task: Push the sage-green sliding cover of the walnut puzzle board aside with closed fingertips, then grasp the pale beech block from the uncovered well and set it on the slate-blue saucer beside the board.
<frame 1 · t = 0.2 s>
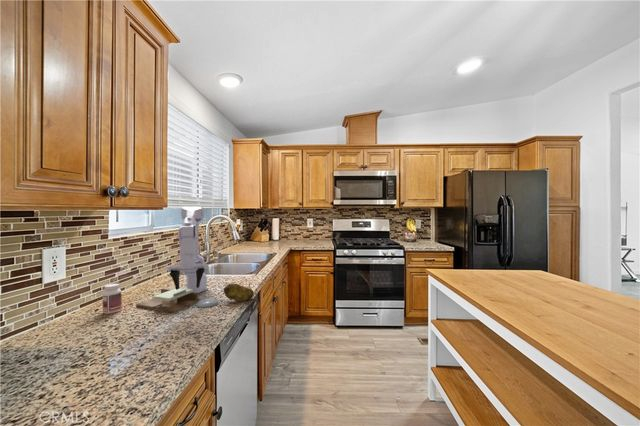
hand: (187, 288, 106), 10 cm above the counter, tool pointing down, fingers open, 7 cm apart
board: (170, 304, 116), on the counter
saucer: (207, 303, 117), on the counter
potato: (238, 300, 121), on the counter
cover: (173, 292, 115), point 5 cm above the counter, slide at 0.0 cm
pill bottle: (112, 311, 109), on the counter
block: (169, 307, 113), resting in board
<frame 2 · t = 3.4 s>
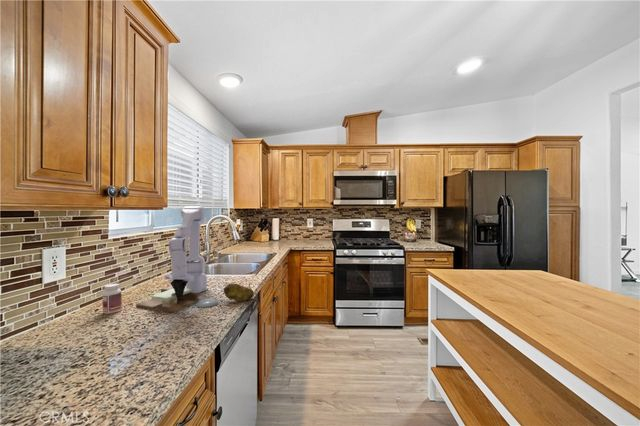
hand: (179, 296, 113), 5 cm above the counter, tool pointing down, fingers closed
cover: (172, 292, 116), point 5 cm above the counter, slide at 1.1 cm, touching gripper
everything else where it was.
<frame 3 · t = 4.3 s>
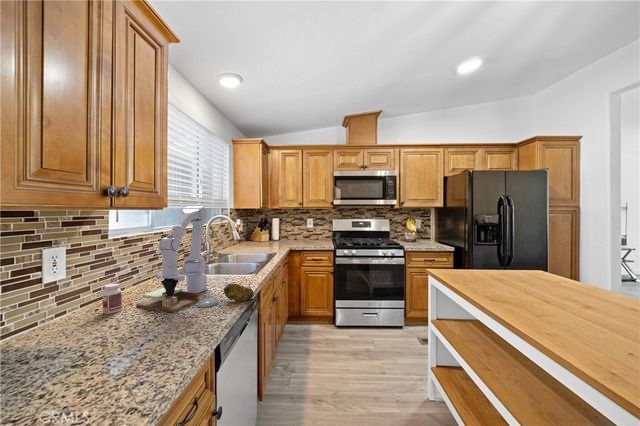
hand: (170, 295, 114), 5 cm above the counter, tool pointing down, fingers closed
cover: (163, 291, 117), point 5 cm above the counter, slide at 6.4 cm, touching gripper
everything else where it was.
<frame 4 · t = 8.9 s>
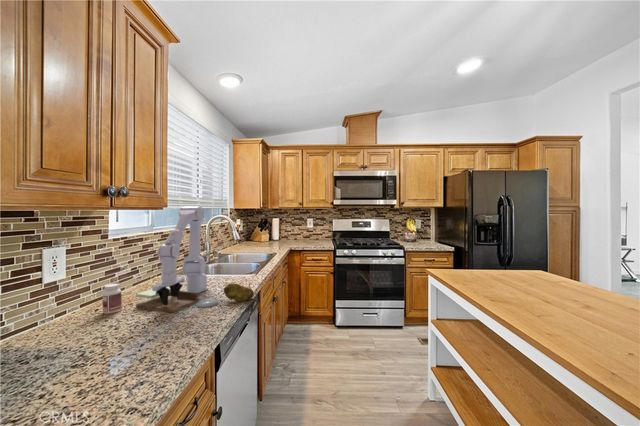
hand: (169, 302, 113), 2 cm above the counter, tool pointing down, fingers closed on block, 4 cm apart
cover: (156, 290, 118), point 5 cm above the counter, slide at 10.2 cm
block: (169, 307, 113), resting in board, touching gripper
everything else where it was.
when the fingers open (4 cm above the counter, at t = 11.9 s): block drops 1 cm, resting on saucer.
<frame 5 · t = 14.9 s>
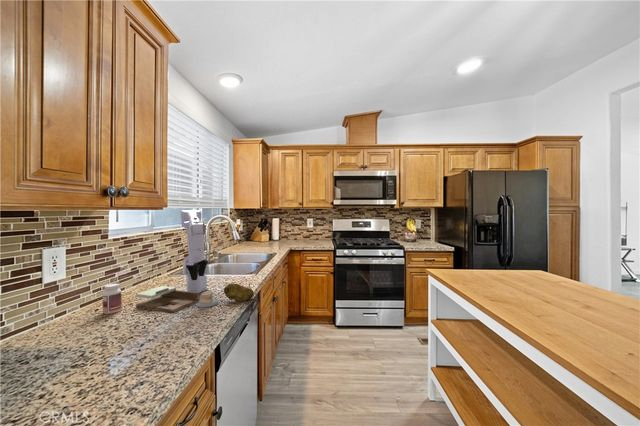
hand: (197, 277, 121), 10 cm above the counter, tool pointing down, fingers open, 7 cm apart
block: (206, 302, 117), point 1 cm above the counter, touching saucer
everything else where it was.
at the end: cover slide at 10.2 cm; block inside the target area on the saucer (0.2 cm from its centre), point 0.8 cm above the saucer's base; the gripper is holding nothing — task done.
